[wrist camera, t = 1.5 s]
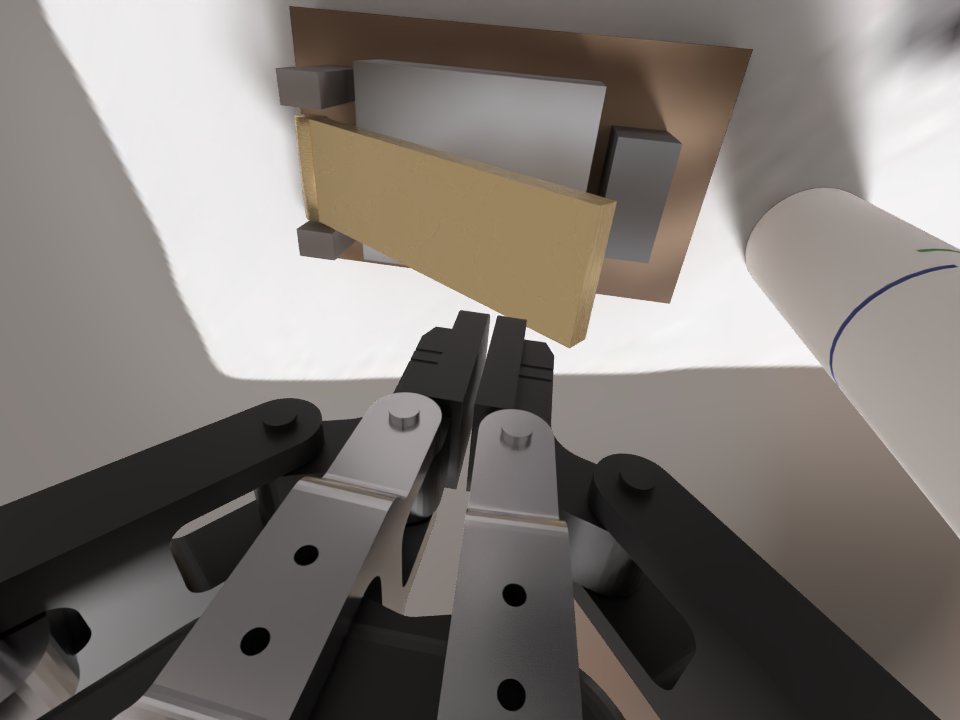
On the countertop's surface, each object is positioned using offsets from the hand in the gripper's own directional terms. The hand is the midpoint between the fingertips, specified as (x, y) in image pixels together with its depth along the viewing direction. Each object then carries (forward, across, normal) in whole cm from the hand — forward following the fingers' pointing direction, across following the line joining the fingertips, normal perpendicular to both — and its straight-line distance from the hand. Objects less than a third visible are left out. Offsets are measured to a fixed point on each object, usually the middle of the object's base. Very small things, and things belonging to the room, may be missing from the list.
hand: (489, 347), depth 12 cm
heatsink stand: (+23, +2, 0) cm, 23 cm away
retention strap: (+11, +4, 0) cm, 12 cm away
